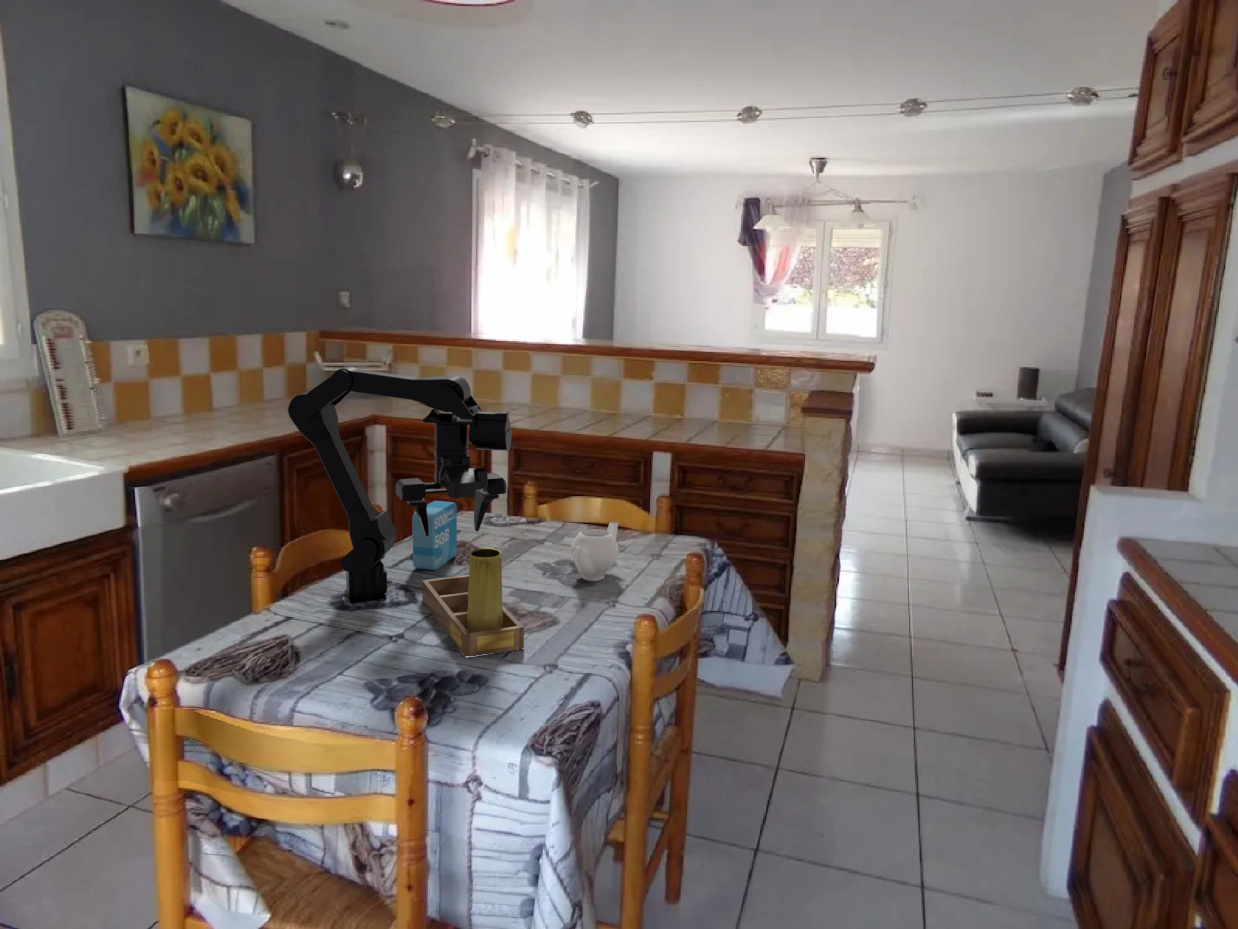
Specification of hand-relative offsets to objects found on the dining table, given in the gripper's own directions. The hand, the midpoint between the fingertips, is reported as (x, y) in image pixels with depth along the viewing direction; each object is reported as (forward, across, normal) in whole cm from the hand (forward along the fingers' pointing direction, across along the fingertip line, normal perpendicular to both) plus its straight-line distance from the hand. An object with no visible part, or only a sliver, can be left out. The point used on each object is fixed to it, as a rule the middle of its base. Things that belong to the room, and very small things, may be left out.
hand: (451, 533), depth 156 cm
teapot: (+13, +30, +3) cm, 33 cm away
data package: (+13, +3, +23) cm, 27 cm away
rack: (+13, 0, -11) cm, 17 cm away
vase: (+12, 0, -20) cm, 23 cm away
